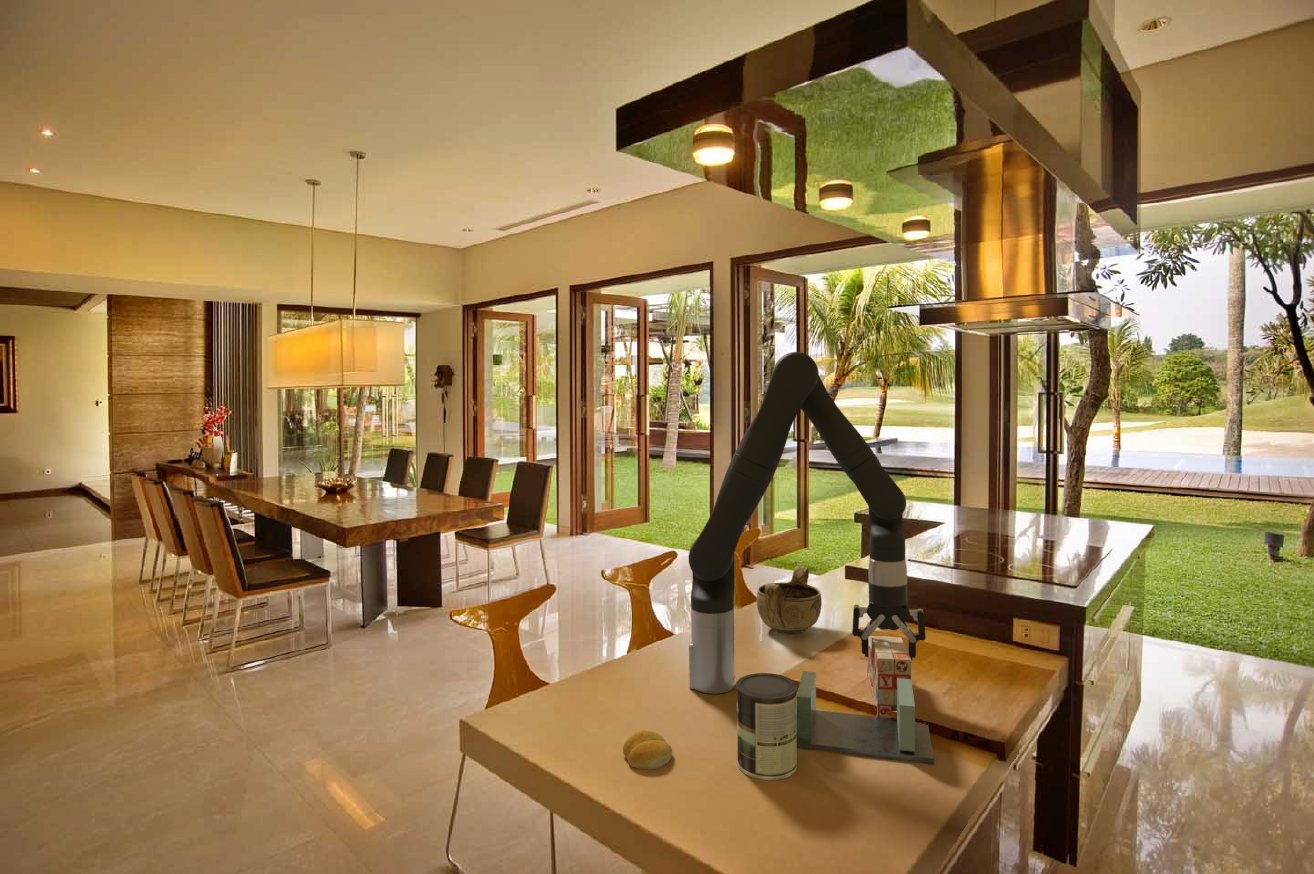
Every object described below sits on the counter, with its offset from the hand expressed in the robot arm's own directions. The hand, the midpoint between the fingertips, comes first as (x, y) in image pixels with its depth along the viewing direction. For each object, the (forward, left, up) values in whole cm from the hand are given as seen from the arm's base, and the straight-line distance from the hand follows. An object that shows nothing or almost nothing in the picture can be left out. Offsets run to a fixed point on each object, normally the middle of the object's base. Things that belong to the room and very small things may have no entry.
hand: (888, 657), depth 149 cm
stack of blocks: (0, 0, -9) cm, 9 cm away
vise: (-5, -19, -8) cm, 21 cm away
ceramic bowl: (-24, +37, -9) cm, 45 cm away
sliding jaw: (+3, -19, -7) cm, 20 cm away
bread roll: (-41, -36, -9) cm, 55 cm away
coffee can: (-21, -33, -9) cm, 40 cm away
